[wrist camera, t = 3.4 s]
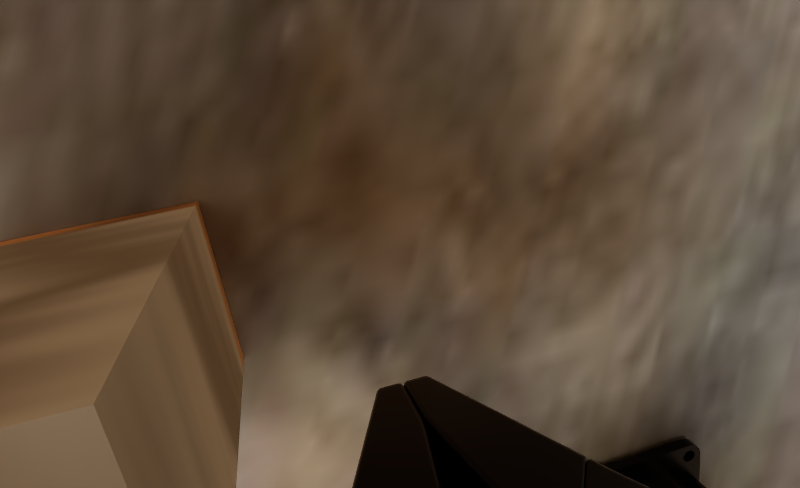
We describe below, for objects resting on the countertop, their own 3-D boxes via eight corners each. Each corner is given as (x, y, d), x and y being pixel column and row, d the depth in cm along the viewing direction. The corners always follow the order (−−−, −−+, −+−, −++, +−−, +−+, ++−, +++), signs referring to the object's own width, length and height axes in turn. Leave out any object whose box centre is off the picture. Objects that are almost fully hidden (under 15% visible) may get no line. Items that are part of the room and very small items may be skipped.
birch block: (197, 201, 15) (93, 403, 6) (244, 358, 17) (221, 717, 7) (0, 242, 14) (-509, 562, 5) (69, 403, 16) (-210, 876, 6)
